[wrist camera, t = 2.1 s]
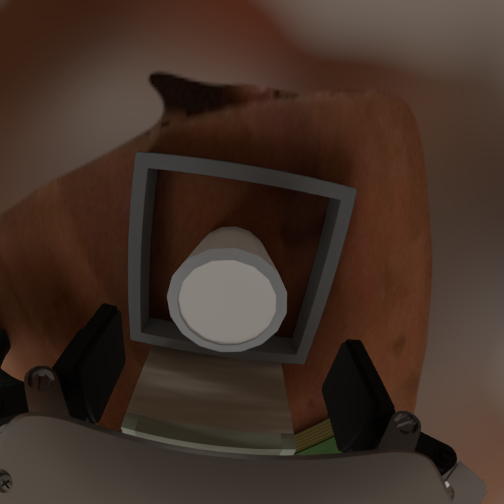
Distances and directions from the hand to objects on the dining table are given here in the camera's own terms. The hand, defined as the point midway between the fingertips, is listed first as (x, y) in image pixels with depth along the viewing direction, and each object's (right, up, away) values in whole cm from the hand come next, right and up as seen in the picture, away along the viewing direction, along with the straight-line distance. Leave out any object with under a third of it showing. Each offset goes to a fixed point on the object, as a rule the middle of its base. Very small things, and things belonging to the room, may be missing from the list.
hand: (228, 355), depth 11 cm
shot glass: (-1, +4, +11) cm, 12 cm away
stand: (-3, -10, +16) cm, 19 cm away
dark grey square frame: (-1, +3, +11) cm, 12 cm away
